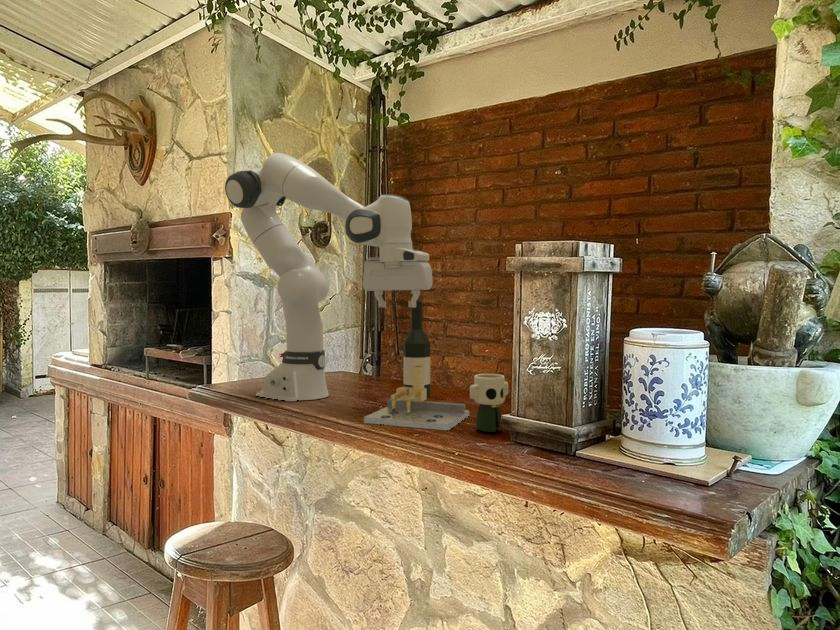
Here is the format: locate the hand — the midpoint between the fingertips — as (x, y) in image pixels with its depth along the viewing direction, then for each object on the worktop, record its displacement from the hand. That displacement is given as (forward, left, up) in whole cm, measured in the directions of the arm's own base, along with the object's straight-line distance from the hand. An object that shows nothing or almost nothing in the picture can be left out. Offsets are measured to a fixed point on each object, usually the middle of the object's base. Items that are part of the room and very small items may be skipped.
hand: (397, 307), depth 161 cm
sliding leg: (+7, -4, -26) cm, 27 cm away
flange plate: (+9, -7, -28) cm, 30 cm away
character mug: (+29, -12, -28) cm, 42 cm away
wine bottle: (-3, +23, -28) cm, 36 cm away
